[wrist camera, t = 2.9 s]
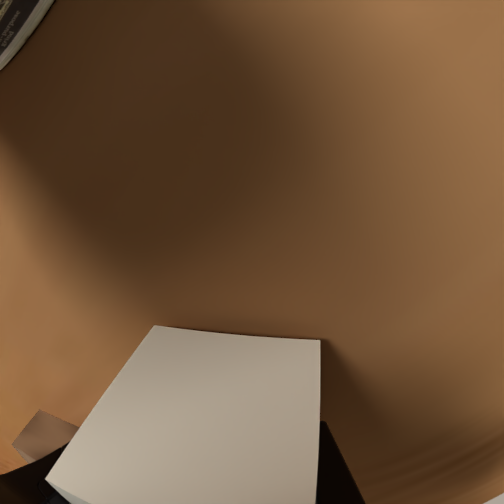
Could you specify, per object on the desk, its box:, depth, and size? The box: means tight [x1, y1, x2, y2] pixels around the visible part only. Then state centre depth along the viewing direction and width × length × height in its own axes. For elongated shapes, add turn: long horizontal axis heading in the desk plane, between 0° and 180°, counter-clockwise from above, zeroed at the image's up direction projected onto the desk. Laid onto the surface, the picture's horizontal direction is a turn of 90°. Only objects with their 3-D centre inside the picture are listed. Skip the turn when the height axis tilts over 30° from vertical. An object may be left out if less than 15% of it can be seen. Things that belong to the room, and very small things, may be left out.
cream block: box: [45, 325, 320, 504], centre depth 7 cm, size 5×5×6 cm
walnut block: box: [12, 410, 80, 464], centre depth 14 cm, size 9×9×4 cm
